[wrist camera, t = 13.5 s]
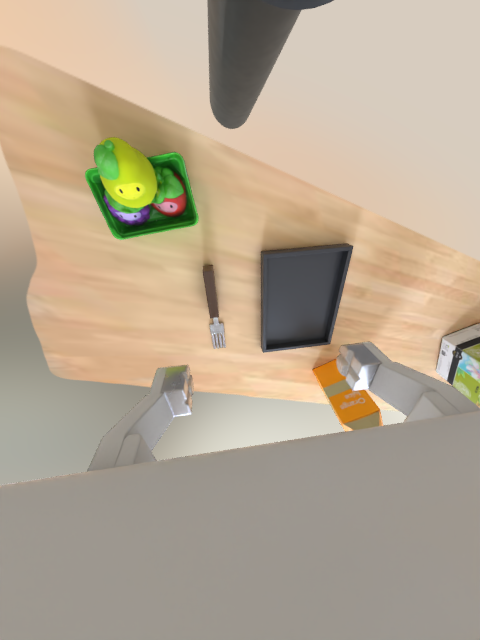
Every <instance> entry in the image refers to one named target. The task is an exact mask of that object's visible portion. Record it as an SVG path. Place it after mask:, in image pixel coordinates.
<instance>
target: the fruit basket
mask: <svg viewBox="0 0 480 640" xmlns="http://www.w3.org/2000/svg"><path fill="white" fill-rule="evenodd" d="M94 159H95V163H96V165H97V167H96V168H91V169H88V170H87V171H86V173H85V177H86V181H87V183H88V185H89V187H90V188H91V191H92V193H93V195H94V197H95V199H96V202H97V204H98V206H99V208H100V210H101V212H102V214H103V216H104V218H105V220H106V222H107V224H108V227H109V229H110V230H111V232H112V234H113V236H114V237H115V238H117V239H120V240H124V239H128V238H133V237H138V236H142V235H148V234H153V233H158V232H164V231H169V230H174V229H179V228H184V227H190V226H194V225H196V224H197V223H198V214H197V210H196V206H195V203H194V199H193V195H192V191H191V187H190V183H189V179H188V175H187V171H186V167H185V162H184V159H183V157H182V156H181V155H180V154H179V153H176V152H172V153H167V154H163V155H158V156H152V157H147V158H146V157H145V156H144V155H143V154H142V153H141V152H140V151H138V150H137V149H135V148H133V147H131V146H130V145H129V144H128V143H127V142H125V141H123V140H122V139H119V138H115V137H111V138H107V139H105V140H103V141H102V142H101V143H100V144H99V145H97V146H96V148H95V149H94Z"/></svg>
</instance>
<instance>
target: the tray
mask: <svg viewBox="0 0 480 640" xmlns="http://www.w3.org/2000/svg"><path fill="white" fill-rule="evenodd" d="M352 250H353V246H352V245H349V244H336V245H325V246H314V247H303V248H292V249H282V250H271V251H261V348H262V351H263V353H264V352H272V351H280V350H288V349H296V348H304V347H312V346H320V345H327V344H330V342H331V338H332V334H333V329H334V325H335V321H336V317H337V313H338V308H339V304H340V300H341V296H342V292H343V288H344V283H345V279H346V275H347V271H348V267H349V262H350V258H351V254H352Z"/></svg>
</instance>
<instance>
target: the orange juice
mask: <svg viewBox="0 0 480 640" xmlns="http://www.w3.org/2000/svg"><path fill="white" fill-rule="evenodd" d="M336 360H337V359H336ZM336 360H333V361H331V362H329V363H326V364H324V365H322V366H319V367H317V368H315V369H313V372H314V374H315V376H316V378H317V381H318V383H319V385H320V387H321V389H322V391H323V392H324V394H325V396H326V398H327V400H328V401H329V403H330V405H331V407H332V409H333V411H334V413H335V414H336V416H337V418H338V419H339V421H340V423H341V425H342V426H343V429H344V430H345V432H346V431H352V430H359V429H365V428H371V427H378V426H383V422H382V417H381V412H380V409H379V408H378V406H377V405H376V404H375V402H374V401H373V400H372V399H371V397H370V396H369V395H368V393H367V392H366V391H365V390H356V391H353V390H352V389H351V388H350V386H349V385H348V383H347V382H346V377H345V376H343V375H342V374H340V372H339V371H338V368H337V364H336Z"/></svg>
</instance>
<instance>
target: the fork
mask: <svg viewBox="0 0 480 640" xmlns="http://www.w3.org/2000/svg"><path fill="white" fill-rule="evenodd" d="M203 276H204V282H205V288H206V294H207V301H208V307H209V313H210V318H213V322H214V324H209V325H210V331H211V335H212V341H213V347H214V349H216V346H215V340H214V334H215V338H216V344H217V348H219V343H218V337H217V334H219V341H220V348H222V340H221V333H222V338H223V346H224V348H225V347H226V345H225V337H224V326H223V323H219V321H218V317H219V310H218V302H217V294H216V287H215V279H214V271H213V265H209V266H203Z"/></svg>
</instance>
